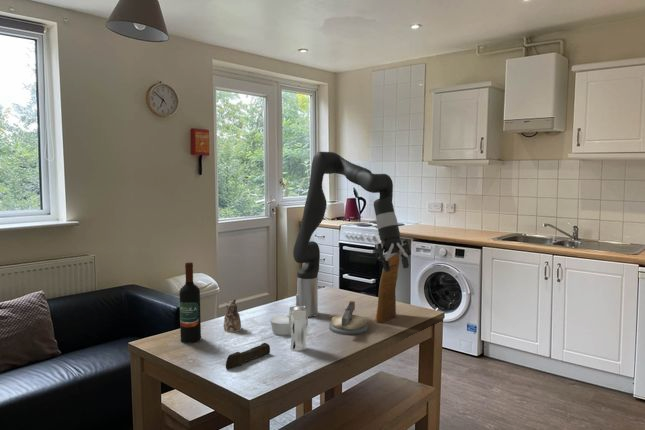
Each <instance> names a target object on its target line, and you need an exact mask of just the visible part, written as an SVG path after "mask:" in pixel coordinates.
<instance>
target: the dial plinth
mask: <svg viewBox="0 0 645 430" xmlns="http://www.w3.org/2000/svg"><path fill="white" fill-rule="evenodd" d="M328 329H329V331H330V332H333V333H334V334H338V335H345V336H346V335H347V336H354V335H362V334H365V333H366V332H367V331H368V330H369V325H368V323H367V322H366V325H365V326H364V327H363V328H360V329H352V330H346V329H339V328H336V327H334V326H332V321H330V322H329V326H328Z"/></svg>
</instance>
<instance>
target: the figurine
mask: <svg viewBox="0 0 645 430" xmlns="http://www.w3.org/2000/svg"><path fill="white" fill-rule="evenodd" d="M236 301H237V299H232V300H229V301H228V302H227V303H226V304H225V309H226V310H225V312H224V320H223V331H224V332H227V333H235V332H238V331H240V330H241V329H242V322H241V317H240V316H241V315H240V313H239V311H238V306H237V304H236Z"/></svg>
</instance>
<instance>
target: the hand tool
mask: <svg viewBox="0 0 645 430" xmlns="http://www.w3.org/2000/svg"><path fill="white" fill-rule="evenodd" d="M265 354H266V355H269V354H271V347H270V344H269V343H266V342H263V343H261V344H259V345H257V346H254V347H251V348H250V349H247V350H245V351H242V352H240V351H236V352H234V353H231V354H229V355H228V356H227V358H226V361H225V369H226V370H230V369H234V368H238V367H241V366H242V364H244V363H246V362H249V361H251V360H253V359H256V358H258V357H261V356H264V355H265Z"/></svg>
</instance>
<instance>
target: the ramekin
mask: <svg viewBox="0 0 645 430" xmlns="http://www.w3.org/2000/svg"><path fill="white" fill-rule="evenodd" d="M269 322H270V326H271V330H272V333H273V334H275V335H277V336H291V332H290V327H289V315H283V314H282V315H277V316H274V317H272V318H270V321H269Z"/></svg>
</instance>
